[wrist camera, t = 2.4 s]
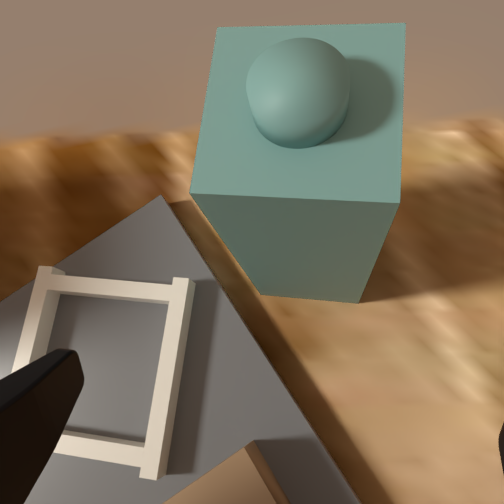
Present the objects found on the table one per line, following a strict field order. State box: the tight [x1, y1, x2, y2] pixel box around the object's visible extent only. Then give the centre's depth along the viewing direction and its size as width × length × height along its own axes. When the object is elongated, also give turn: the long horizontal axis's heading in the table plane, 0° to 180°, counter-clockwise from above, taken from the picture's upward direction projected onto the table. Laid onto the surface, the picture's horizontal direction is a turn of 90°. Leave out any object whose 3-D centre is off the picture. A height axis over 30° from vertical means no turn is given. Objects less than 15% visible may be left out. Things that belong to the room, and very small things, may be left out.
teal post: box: [189, 23, 406, 303], centre depth 17 cm, size 5×5×14 cm
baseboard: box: [0, 195, 362, 504], centre depth 21 cm, size 20×14×2 cm
